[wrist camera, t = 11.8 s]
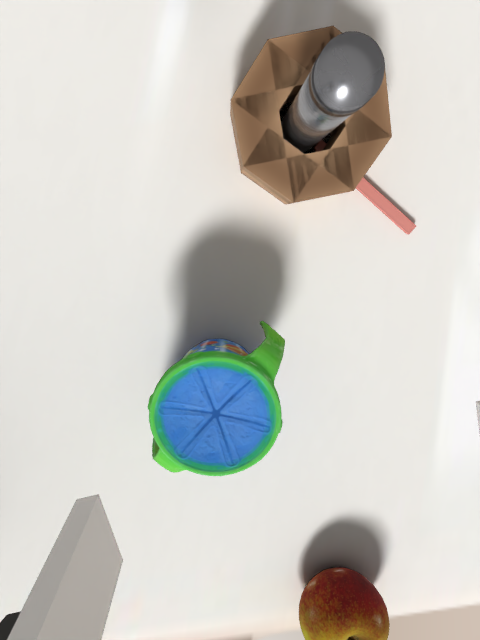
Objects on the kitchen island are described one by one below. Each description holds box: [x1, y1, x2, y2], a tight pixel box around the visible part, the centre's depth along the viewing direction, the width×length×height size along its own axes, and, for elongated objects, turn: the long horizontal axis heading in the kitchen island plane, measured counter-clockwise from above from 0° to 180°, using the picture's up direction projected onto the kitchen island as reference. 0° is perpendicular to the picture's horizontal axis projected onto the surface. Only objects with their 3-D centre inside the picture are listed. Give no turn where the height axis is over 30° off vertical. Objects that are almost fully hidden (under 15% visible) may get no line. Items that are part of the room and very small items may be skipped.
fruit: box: [299, 567, 389, 640], centre depth 46 cm, size 10×9×8 cm
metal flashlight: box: [281, 32, 385, 152], centre depth 30 cm, size 4×4×16 cm
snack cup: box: [148, 321, 285, 476], centre depth 38 cm, size 16×10×10 cm
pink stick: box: [313, 140, 416, 234], centre depth 39 cm, size 12×1×1 cm, turn 51°
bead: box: [230, 26, 392, 204], centre depth 35 cm, size 12×12×5 cm
